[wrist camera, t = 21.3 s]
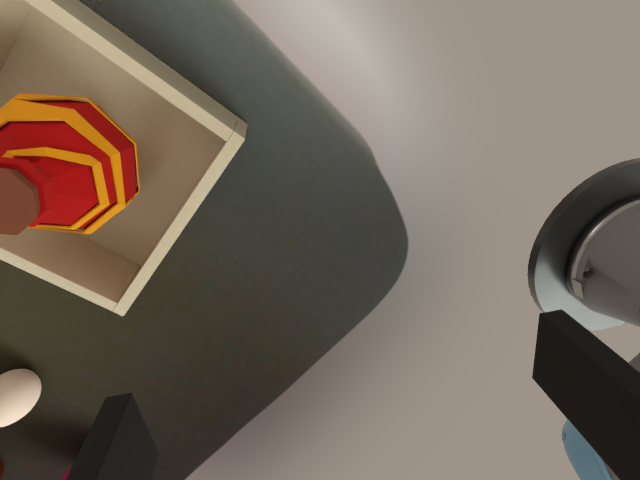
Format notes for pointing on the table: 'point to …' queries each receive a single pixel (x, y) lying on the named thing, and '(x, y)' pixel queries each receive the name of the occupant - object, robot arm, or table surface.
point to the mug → (1, 469)
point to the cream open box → (132, 116)
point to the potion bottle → (62, 165)
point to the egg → (17, 394)
